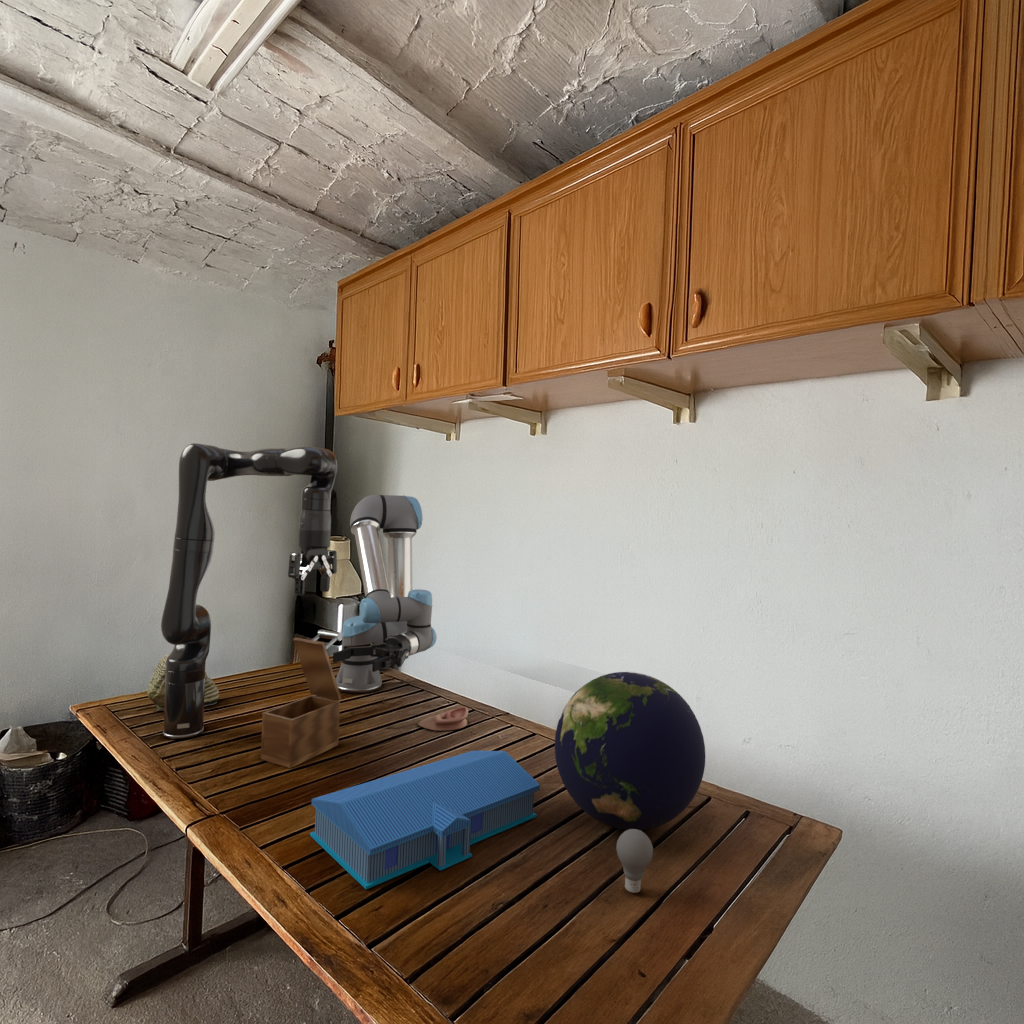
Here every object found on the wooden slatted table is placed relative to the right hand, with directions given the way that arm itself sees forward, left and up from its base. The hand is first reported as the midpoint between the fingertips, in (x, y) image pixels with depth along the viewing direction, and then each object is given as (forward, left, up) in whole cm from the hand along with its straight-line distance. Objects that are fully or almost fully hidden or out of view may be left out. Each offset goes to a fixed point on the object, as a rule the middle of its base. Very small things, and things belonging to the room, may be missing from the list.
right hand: (353, 662), depth 172 cm
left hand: (+14, -7, +21) cm, 26 cm away
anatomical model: (-8, +24, -19) cm, 32 cm away
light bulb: (+65, +65, -19) cm, 94 cm away
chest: (+16, -8, -19) cm, 26 cm away
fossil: (-12, -52, -19) cm, 57 cm away
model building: (+49, +29, -19) cm, 60 cm away
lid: (+12, -6, +1) cm, 14 cm away
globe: (+42, +68, -19) cm, 82 cm away
